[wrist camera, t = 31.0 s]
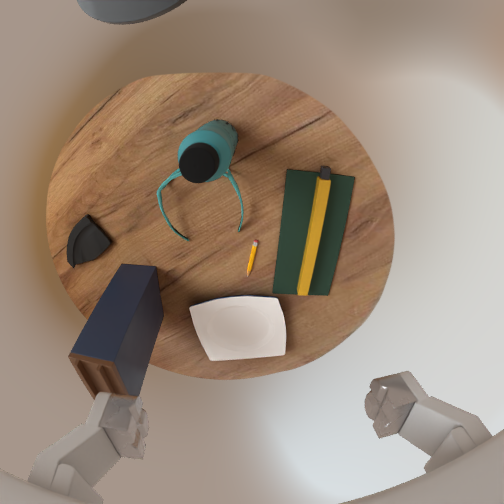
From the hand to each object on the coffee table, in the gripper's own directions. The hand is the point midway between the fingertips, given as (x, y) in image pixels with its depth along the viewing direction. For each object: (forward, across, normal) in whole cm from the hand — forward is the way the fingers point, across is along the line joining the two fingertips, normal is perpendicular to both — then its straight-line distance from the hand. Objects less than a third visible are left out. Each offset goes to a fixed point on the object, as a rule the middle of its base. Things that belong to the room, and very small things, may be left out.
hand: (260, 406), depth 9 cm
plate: (+51, -2, +30) cm, 59 cm away
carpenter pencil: (+44, -15, +8) cm, 47 cm away
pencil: (+47, -4, +12) cm, 49 cm away
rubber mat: (+45, -15, +8) cm, 48 cm away
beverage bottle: (+43, +2, -11) cm, 44 cm away
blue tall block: (+51, +20, +21) cm, 58 cm away
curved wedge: (+50, +31, +8) cm, 59 cm away
